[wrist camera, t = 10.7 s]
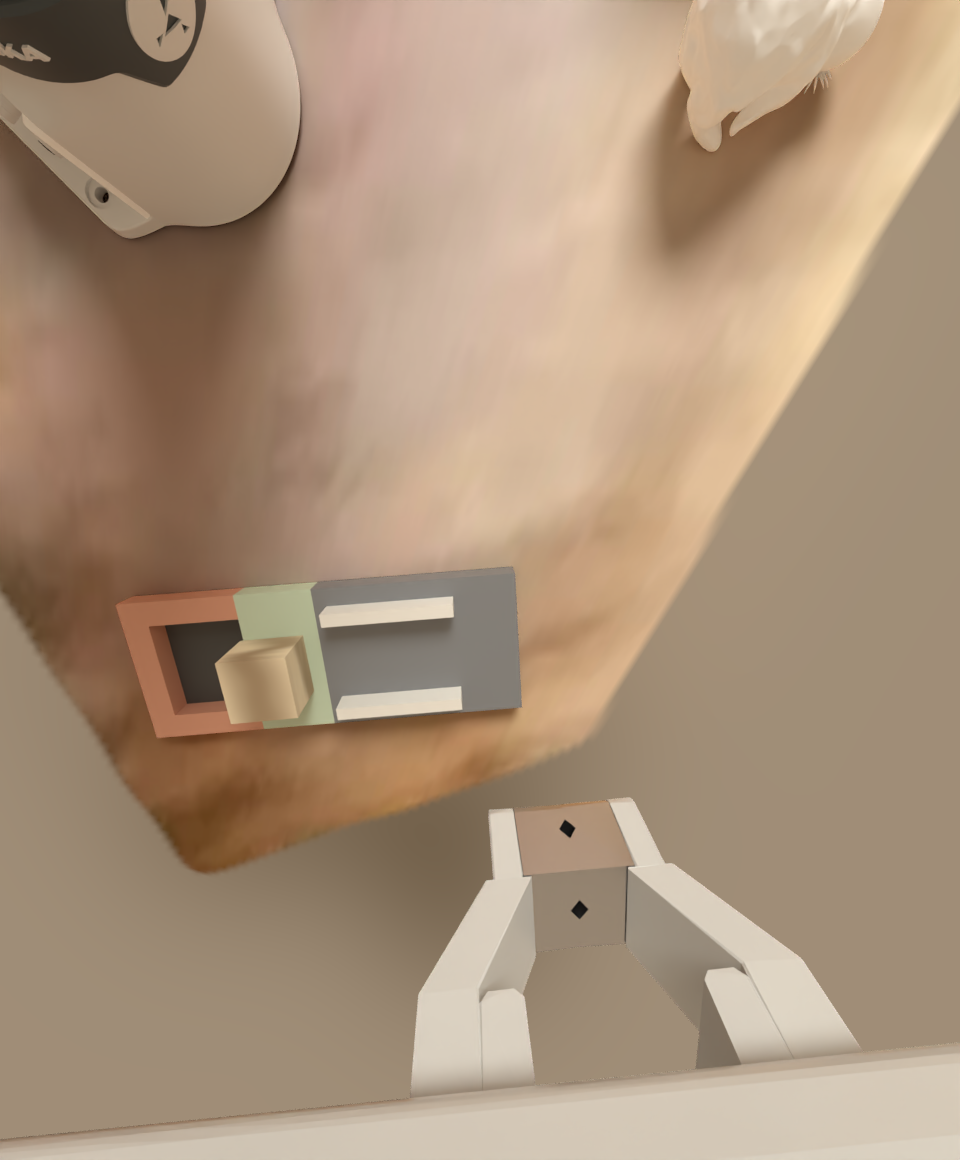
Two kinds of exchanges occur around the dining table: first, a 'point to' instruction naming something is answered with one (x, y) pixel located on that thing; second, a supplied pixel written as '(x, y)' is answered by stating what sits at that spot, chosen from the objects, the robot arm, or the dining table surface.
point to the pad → (283, 617)
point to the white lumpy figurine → (764, 55)
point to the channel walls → (403, 699)
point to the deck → (333, 646)
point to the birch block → (265, 679)
